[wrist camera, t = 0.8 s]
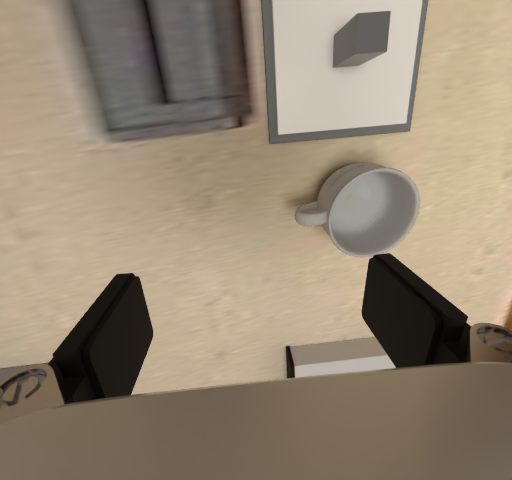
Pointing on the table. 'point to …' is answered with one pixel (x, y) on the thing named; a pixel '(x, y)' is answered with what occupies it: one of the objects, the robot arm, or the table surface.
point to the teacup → (364, 208)
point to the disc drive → (336, 358)
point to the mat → (328, 133)
